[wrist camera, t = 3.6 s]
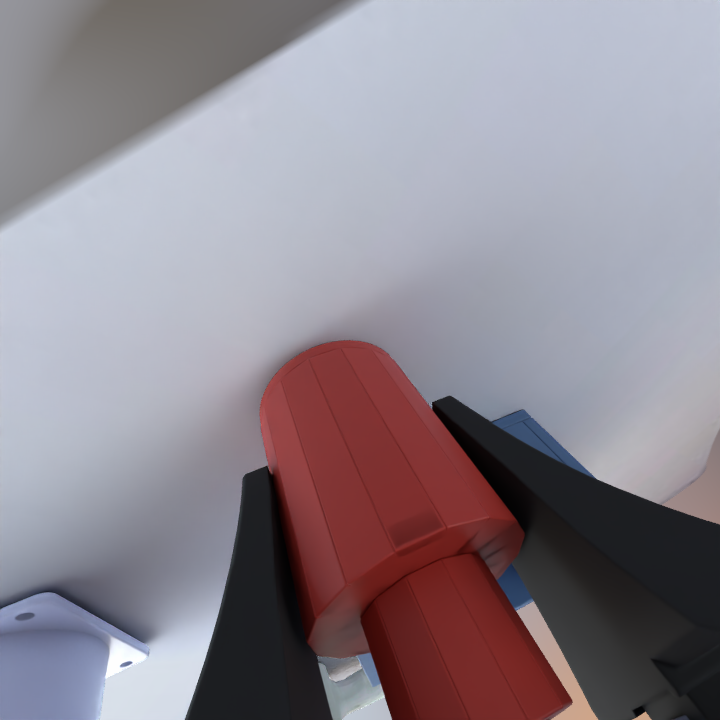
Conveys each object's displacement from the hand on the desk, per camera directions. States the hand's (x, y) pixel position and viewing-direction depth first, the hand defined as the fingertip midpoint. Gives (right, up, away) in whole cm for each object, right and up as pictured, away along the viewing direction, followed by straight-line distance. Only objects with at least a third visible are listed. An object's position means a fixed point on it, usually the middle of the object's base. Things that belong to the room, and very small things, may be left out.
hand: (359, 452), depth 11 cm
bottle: (-1, +1, +2) cm, 2 cm away
